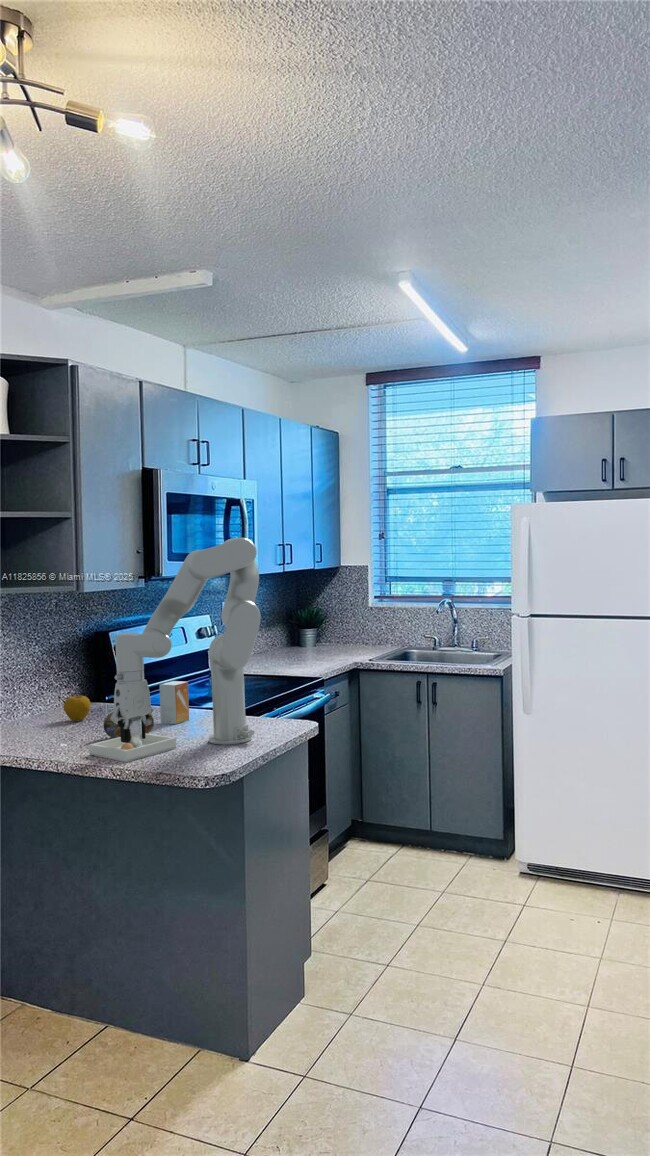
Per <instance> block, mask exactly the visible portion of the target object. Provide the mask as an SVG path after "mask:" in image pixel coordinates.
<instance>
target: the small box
mask: <svg viewBox="0 0 650 1156" xmlns="http://www.w3.org/2000/svg"><path fill="white" fill-rule="evenodd" d="M189 701H190V700H189V681H179V680H171V681H167V682H165V683H161V684H159V708H160V709H159V710H160V711H159V712H160V724H165V725H166V724H167V725H169V724H170V725H177V724H180V723H183V722H186V720H187V721H189V720H190V705H189V704H190V703H189Z"/></svg>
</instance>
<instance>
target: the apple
mask: <svg viewBox="0 0 650 1156" xmlns="http://www.w3.org/2000/svg"><path fill="white" fill-rule="evenodd" d="M91 706H92V703H91V701H90V699H89V697H87V696H85V695H78V694H76V695H74V696H70V697H67V698H66V699H65V701H64V704H63V710H64V712H65V714H66V716H67V717H68V718H69V720H70V721H72V722H78V721H79V720H80V721H84V719H86V717H87V716H88V714H89V713H90V711H91Z"/></svg>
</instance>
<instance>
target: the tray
mask: <svg viewBox="0 0 650 1156" xmlns="http://www.w3.org/2000/svg"><path fill="white" fill-rule="evenodd" d="M145 736H146V738H145V739H142V745H143V746H140V747H137V748H133V749H129V750H125V749H121V746H122V745H123V744H124V742H121V737H118V738H110V739H106V740H102V741H99V742H95V743H94V742H93V743H91V744H88V747H89V756H91V755H94V756H93V757H97V756H98V757H97V758H102V757H103V758H102V759H107V758H108V760H113V761H120V762H124V763H129V762H132V761H137V760H139V759H143V758H148V757H150V756H154V755H157V754H162V753H164V752H168V751H171V750H172V751H173V750H176V749H177V737H172V736H166V735H159V734H153V733H148V734H147V733H145Z"/></svg>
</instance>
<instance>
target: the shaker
mask: <svg viewBox="0 0 650 1156" xmlns="http://www.w3.org/2000/svg"><path fill="white" fill-rule="evenodd" d="M141 718H142V716H137V717H135V718H130V719H129V723H128V729H130V744H132V745H133V747H134V748H137V747H140V746H143V745H142V719H141ZM124 744H125V743H124Z"/></svg>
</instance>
